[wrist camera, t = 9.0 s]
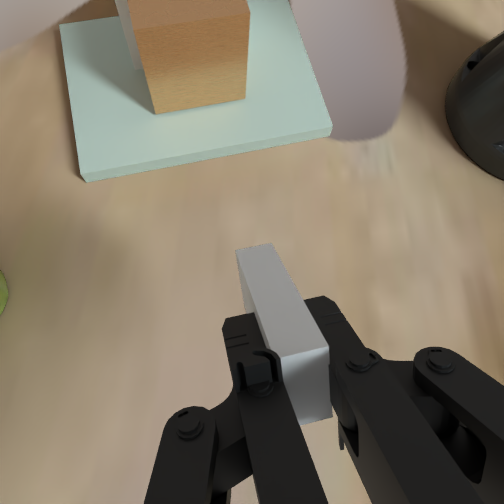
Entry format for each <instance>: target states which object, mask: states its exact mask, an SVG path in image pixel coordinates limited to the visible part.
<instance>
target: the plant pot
mask: <svg viewBox="0 0 504 504" xmlns="http://www.w3.org/2000/svg"><path fill="white" fill-rule="evenodd" d="M7 299H8V289H7V285H6V281H5V277H4V275H3V273H2V272H1V270H0V315H1V313H2V312H3V310H4V308H5V305H6V302H7Z"/></svg>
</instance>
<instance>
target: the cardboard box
mask: <svg viewBox="0 0 504 504" xmlns="http://www.w3.org/2000/svg"><path fill="white" fill-rule="evenodd" d="M127 2H128V7H129V12H130V17H131V21H132V26H133V31H134V35H135V38H136V42H137V46H138V50H139V53H140V57H141V61H142V65H143V68H144V72H145V76H146V80H147V83H148V87H149V91H150V95H151V98H152V102H153V106H154V110H155V114H161V113H167V112H173V111H178V110H184V109H190V108H195V107H201V106H207V105H213V104H218V103H224V102H230V101H235V100H241V99H245V97H246V80H247V63H248V46H249V29H250V9H249V6H248V3H247V0H127Z"/></svg>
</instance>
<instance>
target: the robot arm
mask: <svg viewBox="0 0 504 504" xmlns="http://www.w3.org/2000/svg"><path fill="white" fill-rule="evenodd" d="M445 108H446V116H447V120H448V123H449V126H450V129H451V131H452V133H453V135H454V137H455V139H456V141H457V142H458V144H459V145H460V146H461V148H462V149H463V150H464V151H465V153H466V154H467V155H468V156H469V157H470V158H471V159H472V160H473V161H474V162H476V163H477V164H478V165H479V166H481V167H482V168H483V169H485V170H486V171H488V172H489V173H491V174H493V175H495V176H497V177H498V178H501V179H503V180H504V31H503V32H501V33H500V34H498V35H497V36H495V37H494V38H493V39H491V40H490V41H488V42H487V43H486V44H484V45H483V46H481V47H480V48H478V49H477V50H476V51H475V52H474V53H472V54H471V55H470V56H469V57H468V58H467V60H466V61H465V62H464V63H463V65H462V66H461V68H460V69H459V70H458V72H457V73H456V74H455V76H454V77H453V79H452V81H451V82H450V85H449V87H448V90H447V94H446V101H445ZM235 252H236V258H237V264H238V270H239V277H240V283H241V289H242V295H243V301H244V306H245V310H246V313H247V314H243V315H239V316H234V317H230V318H226V319H225V322H224V325H223V327H222V332H223V337H224V342H225V347H226V352H227V357H228V362H229V366H230V371H231V376H232V380H233V388H232V391H231V393H230V395H229V396H228V398H227V399H226V400H225V401H224V402H222V403H221V404H219V405H218V406H216V407H215V408H213V409H211V410H208V409H206V408H204V407H198V406H192V407H187V408H183V409H182V410H180V411H178V412H176V413H175V414H174V415H173V416H172V417H171V418H170V419H169V420H168V421H167V423H166V425H165V427H164V430H163V434H162V437H161V441H160V445H159V449H158V452H157V456H156V460H155V464H154V467H153V471H152V475H151V478H150V482H149V486H148V490H147V493H146V497H145V501H144V504H230V499H231V488H232V487H234V486H235V485H237V484H238V483H240V482H241V481H243V480H244V479H246V478H248V477H249V476H251V475H252V474H253V479H254V483H255V488H256V492H257V497H258V502H259V504H328V501H327V498H326V496H325V493H324V490H323V488H322V485H321V482H320V479H319V477H318V474H317V471H316V469H315V466H314V463H313V460H312V458H311V455H310V452H309V450H308V447H307V444H306V441H305V439H304V436H303V433H302V431H301V428H300V425H304V424H308V423H312V422H315V421H319V420H323V419H327V418H331V417H333V415H332V406H333V408H334V410H335V412H336V414H337V416H338V433H339V446H340V450H343V449H344V443H345V445H346V448H347V450H348V452H349V454H350V456H351V458H352V461H353V463H354V465H355V467H356V469H357V472H358V474H359V476H360V478H361V480H362V483H363V485H364V487H365V489H366V491H367V493H368V496H369V498H370V500H371V502H372V504H504V386H503V385H502V384H500V383H499V382H497V381H496V380H495V379H493V378H492V377H490V376H489V375H487V374H486V373H485V372H483V371H482V370H480V369H479V368H478V367H476V366H475V365H473V364H472V363H470V362H469V361H468V360H466V359H465V358H463V357H462V356H461V355H459V354H457V353H456V352H454V351H452V350H450V349H446V348H442V347H427V348H424V349H421V350H420V351H419V352H417V353H416V355H415V357H414V361H392V360H386V359H383V358H382V357H381V356H380V355H379V354H378V353H377V352H375V351H373V350H371V349H369V348H365V346H364V345H363V343H362V342H361V340H360V339H359V337H358V336H357V334H356V333H355V331H354V330H353V328H352V327H351V325H350V324H349V323H348V321H346V318H345V317H344V315H343V314H342V313H341V311H340V309H339V308H338V306H337V305H336V303H335V302H334V301H332V300H330V299H329V298H327V297H325V296H320V297H315V298H311V299H306V300H303V299H302V297H301V295H300V293H299V292H298V290H297V288H296V286H295V284H294V283H293V281H292V279H291V277H290V275H289V274H288V272H287V270H286V268H285V267H284V265H283V263H282V261H281V259H280V258H279V256H278V254H277V252H276V250H275V249H274V247H273V245H272V243H269V244H264V245H259V246H254V247H249V248H244V249H239V250H235Z"/></svg>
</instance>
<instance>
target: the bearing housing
mask: <svg viewBox="0 0 504 504" xmlns="http://www.w3.org/2000/svg"><path fill="white" fill-rule="evenodd" d="M247 3H248V6H249V9H250V29H249V46H248V63H247V80H246V97H245V99H241V100H235V101H230V102H224V103H218V104H213V105H207V106H201V107H195V108H190V109H184V110H178V111H173V112H167V113H161V114H155V110H154V106H153V102H152V98H151V95H150V91H149V87H148V83H147V80H146V76H145V72H144V68H143V65H142V61H141V57H140V53H139V50H138V46H137V42H136V38H135V35H134V31H133V26H132V21H131V17H130V12H129V7H128V2H127V0H115V4H116V7H117V11H118V14H119V16H115V17H108V18H101V19H94V20H87V21H80V22H73V23H66V24H59V27H60V34H61V41H62V48H63V55H64V62H65V69H66V76H67V83H68V90H69V97H70V104H71V111H72V118H73V125H74V132H75V139H76V146H77V153H78V160H79V167H80V174H81V176H82V177H83V178H84V180H85V181H86V183H87V182H93V181H98V180H103V179H108V178H113V177H119V176H124V175H129V174H134V173H140V172H145V171H150V170H155V169H160V168H166V167H171V166H176V165H181V164H187V163H192V162H197V161H202V160H208V159H213V158H218V157H223V156H228V155H234V154H239V153H244V152H249V151H255V150H260V149H265V148H270V147H275V146H281V145H286V144H291V143H296V142H302V141H307V140H312V139H317V138H322V137H328V136H329V135H330V133H331V130H332V128H333V125H332V122H331V119H330V117H329V114H328V111H327V108H326V105H325V103H324V100H323V97H322V94H321V91H320V88H319V86H318V83H317V81H316V77H315V74H314V72H313V69H312V66H311V63H310V60H309V58H308V55H307V52H306V49H305V46H304V44H303V41H302V38H301V35H300V33H299V30H298V27H297V24H296V21H295V18H294V15H293V13H292V10H291V7H290V4H289V1H288V0H247Z"/></svg>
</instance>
